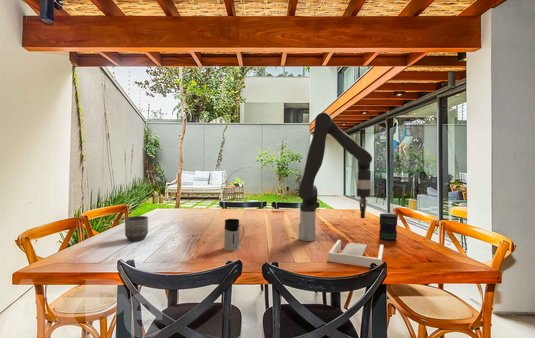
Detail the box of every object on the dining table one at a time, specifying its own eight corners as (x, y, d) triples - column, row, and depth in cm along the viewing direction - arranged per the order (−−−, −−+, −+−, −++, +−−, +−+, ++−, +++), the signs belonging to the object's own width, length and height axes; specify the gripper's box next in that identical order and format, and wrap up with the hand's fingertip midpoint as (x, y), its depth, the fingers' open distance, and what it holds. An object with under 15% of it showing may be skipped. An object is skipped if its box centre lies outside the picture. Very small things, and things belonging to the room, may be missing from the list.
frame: (328, 261, 138) (328, 252, 138) (338, 247, 161) (338, 239, 161) (381, 268, 129) (381, 259, 129) (383, 252, 152) (383, 244, 152)
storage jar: (393, 237, 183) (394, 213, 182) (399, 242, 173) (399, 216, 172) (377, 237, 184) (377, 213, 183) (381, 241, 174) (382, 216, 173)
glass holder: (233, 245, 163) (233, 217, 163) (250, 250, 153) (250, 221, 153) (220, 248, 157) (220, 220, 157) (236, 254, 147) (237, 224, 146)
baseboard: (333, 260, 141) (359, 264, 136) (333, 254, 141) (359, 258, 136) (345, 244, 169) (367, 247, 164) (345, 239, 169) (367, 242, 164)
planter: (120, 241, 168) (120, 218, 168) (136, 236, 180) (136, 215, 179) (136, 243, 164) (136, 220, 164) (152, 238, 175) (152, 216, 175)
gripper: (358, 186, 174) (357, 215, 175) (355, 188, 162) (354, 219, 163) (371, 187, 171) (370, 216, 172) (369, 189, 159) (368, 221, 160)
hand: (362, 218), depth 167 cm, fingers closed
